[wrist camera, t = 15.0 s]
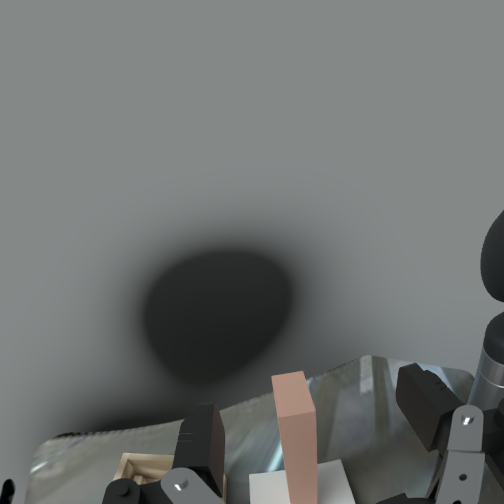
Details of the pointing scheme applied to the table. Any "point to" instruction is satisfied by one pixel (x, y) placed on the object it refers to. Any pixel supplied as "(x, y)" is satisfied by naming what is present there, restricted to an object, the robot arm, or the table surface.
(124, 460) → the rack
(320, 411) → the table surface
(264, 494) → the mat
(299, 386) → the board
